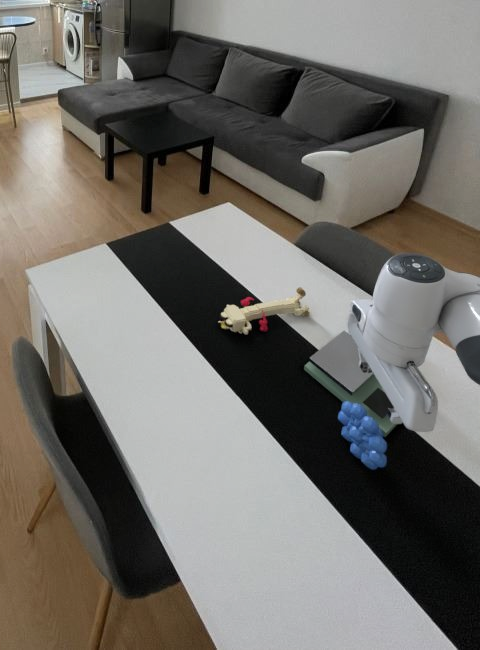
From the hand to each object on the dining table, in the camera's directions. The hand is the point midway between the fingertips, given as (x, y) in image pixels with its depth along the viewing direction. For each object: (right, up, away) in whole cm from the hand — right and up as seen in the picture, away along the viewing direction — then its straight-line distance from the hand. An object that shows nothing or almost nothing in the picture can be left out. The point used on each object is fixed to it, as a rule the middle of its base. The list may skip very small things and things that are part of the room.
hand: (378, 393), depth 78 cm
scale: (+10, -10, +20) cm, 25 cm away
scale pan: (+9, -8, +19) cm, 22 cm away
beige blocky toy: (-5, -4, +38) cm, 38 cm away
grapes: (+1, -17, +7) cm, 18 cm away
